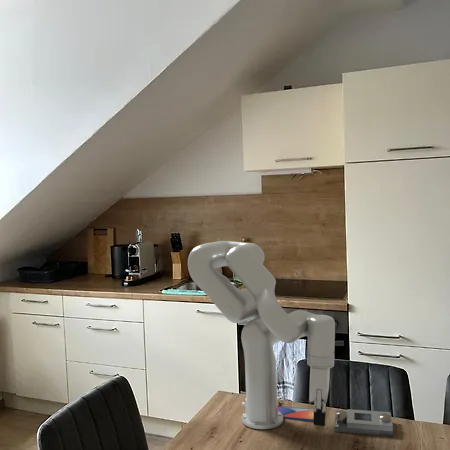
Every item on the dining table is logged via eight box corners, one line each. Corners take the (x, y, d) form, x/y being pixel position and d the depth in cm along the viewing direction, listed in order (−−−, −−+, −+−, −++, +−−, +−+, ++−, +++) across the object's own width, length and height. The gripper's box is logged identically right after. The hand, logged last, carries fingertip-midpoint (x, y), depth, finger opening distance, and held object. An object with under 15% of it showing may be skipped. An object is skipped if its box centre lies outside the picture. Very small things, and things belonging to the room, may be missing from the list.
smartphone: (277, 408, 160) (276, 405, 160) (323, 413, 155) (323, 409, 155) (271, 419, 154) (271, 415, 153) (320, 423, 148) (319, 420, 148)
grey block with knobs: (334, 431, 143) (334, 418, 142) (335, 417, 151) (335, 405, 151) (392, 436, 139) (392, 423, 138) (390, 422, 147) (390, 409, 147)
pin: (311, 426, 142) (312, 392, 141) (319, 423, 144) (319, 390, 143) (319, 431, 139) (320, 396, 138) (327, 427, 141) (328, 393, 140)
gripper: (309, 348, 149) (308, 408, 150) (304, 368, 133) (303, 434, 134) (335, 351, 147) (334, 410, 148) (333, 370, 131) (331, 437, 132)
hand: (319, 421), depth 141 cm, fingers closed on pin, 3 cm apart
